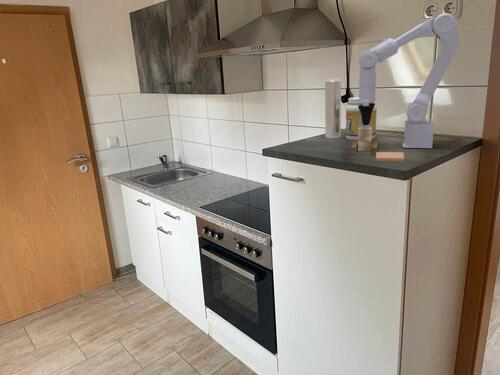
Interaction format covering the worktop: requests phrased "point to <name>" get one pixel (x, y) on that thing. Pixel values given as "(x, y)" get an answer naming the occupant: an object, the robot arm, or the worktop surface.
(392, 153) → the terracotta tile
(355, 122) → the supplement tub
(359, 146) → the birch block
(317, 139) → the worktop surface
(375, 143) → the slot rack
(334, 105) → the air filter
